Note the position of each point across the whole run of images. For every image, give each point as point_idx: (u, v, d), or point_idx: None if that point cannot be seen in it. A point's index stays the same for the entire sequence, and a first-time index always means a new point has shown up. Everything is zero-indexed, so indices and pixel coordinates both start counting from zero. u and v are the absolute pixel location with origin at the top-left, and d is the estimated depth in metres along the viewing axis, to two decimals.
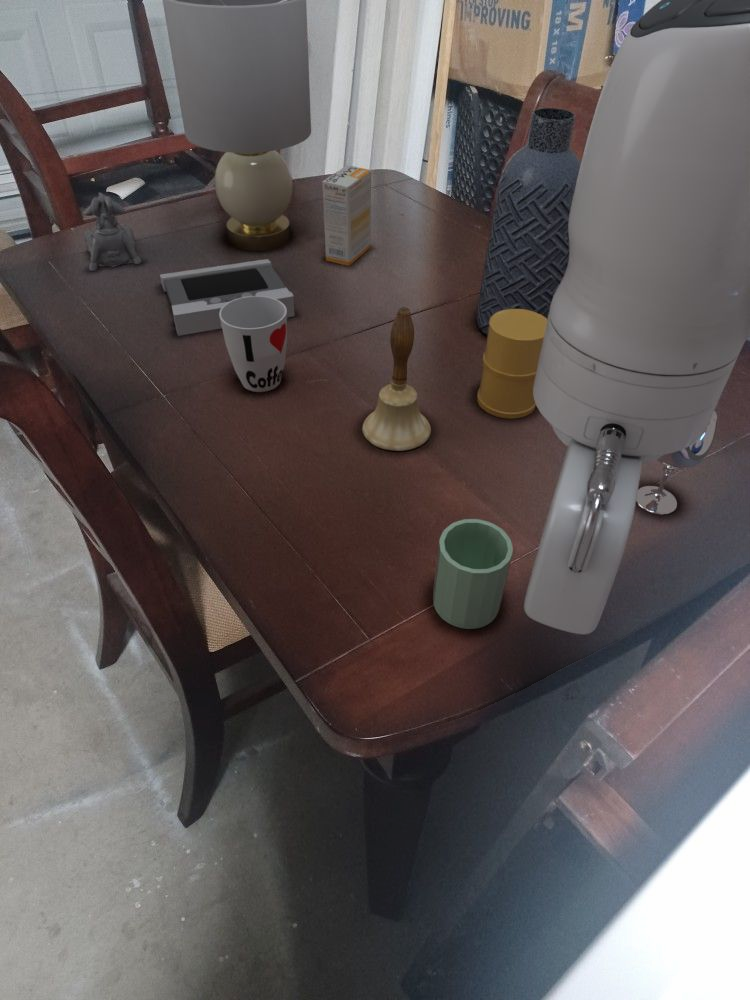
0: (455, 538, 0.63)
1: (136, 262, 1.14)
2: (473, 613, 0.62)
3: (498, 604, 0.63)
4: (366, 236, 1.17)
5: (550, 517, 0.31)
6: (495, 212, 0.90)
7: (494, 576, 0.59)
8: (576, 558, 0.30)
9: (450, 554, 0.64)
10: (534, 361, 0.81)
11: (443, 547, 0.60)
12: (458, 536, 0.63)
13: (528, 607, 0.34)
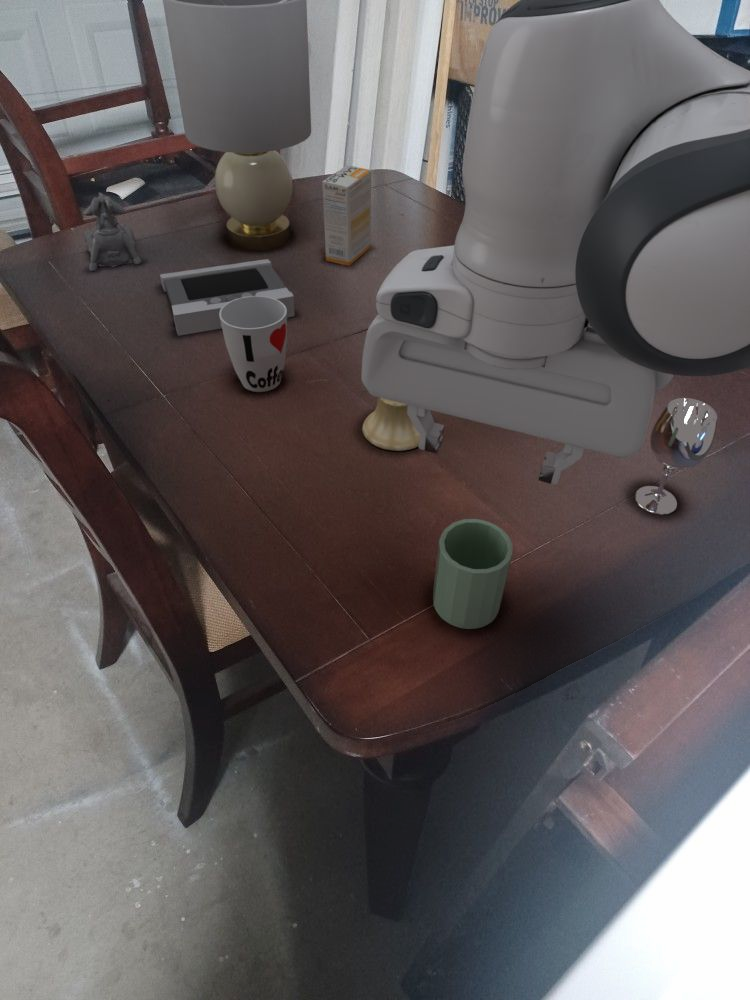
0: (455, 538, 0.63)
1: (136, 262, 1.14)
2: (473, 613, 0.62)
3: (498, 604, 0.63)
4: (366, 236, 1.17)
5: (646, 376, 0.42)
6: None
7: (494, 576, 0.59)
8: (672, 375, 0.43)
9: (450, 554, 0.64)
10: None
11: (443, 547, 0.60)
12: (458, 536, 0.63)
13: None
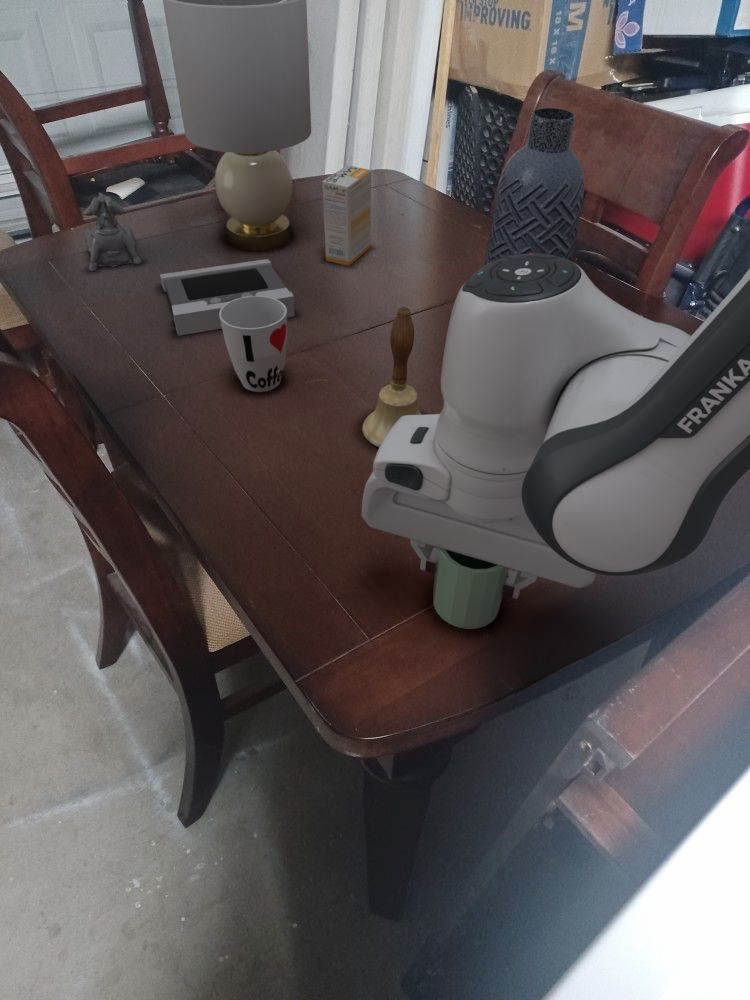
0: None
1: (136, 262, 1.14)
2: (473, 613, 0.62)
3: (498, 604, 0.63)
4: (366, 236, 1.17)
5: None
6: (495, 212, 0.90)
7: (494, 576, 0.59)
8: None
9: (450, 554, 0.64)
10: None
11: None
12: None
13: (593, 579, 0.56)
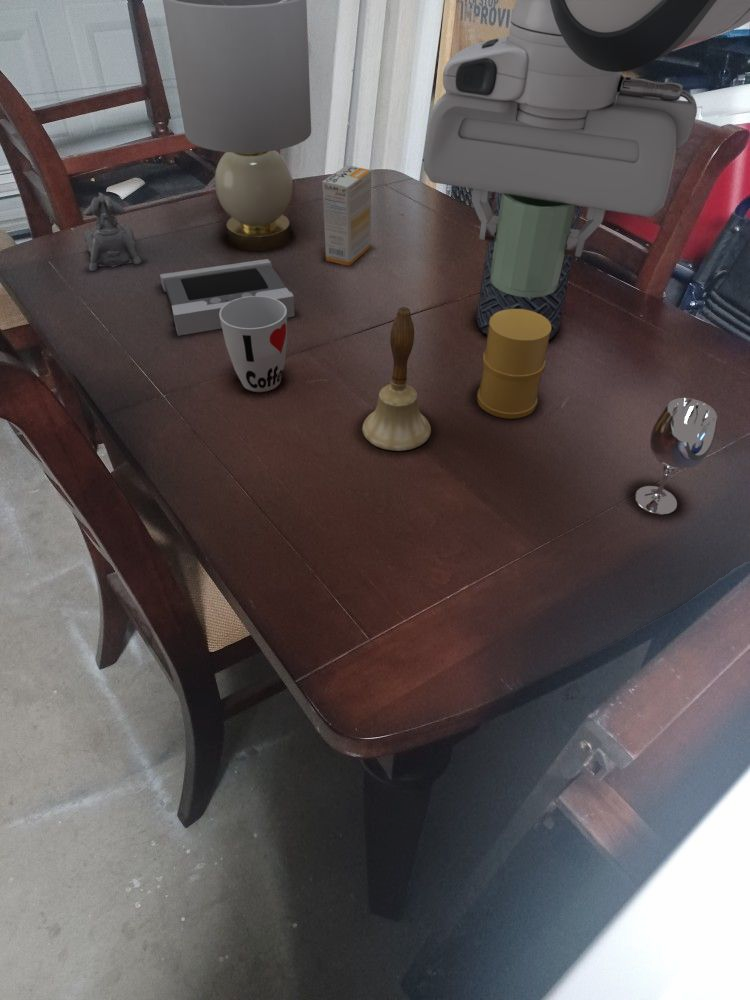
0: None
1: (136, 262, 1.14)
2: (535, 273, 0.61)
3: (559, 269, 0.62)
4: (366, 236, 1.17)
5: (669, 127, 0.51)
6: (495, 212, 0.90)
7: (560, 217, 0.58)
8: (690, 131, 0.52)
9: None
10: (534, 361, 0.81)
11: (507, 194, 0.59)
12: (518, 200, 0.62)
13: (665, 199, 0.55)
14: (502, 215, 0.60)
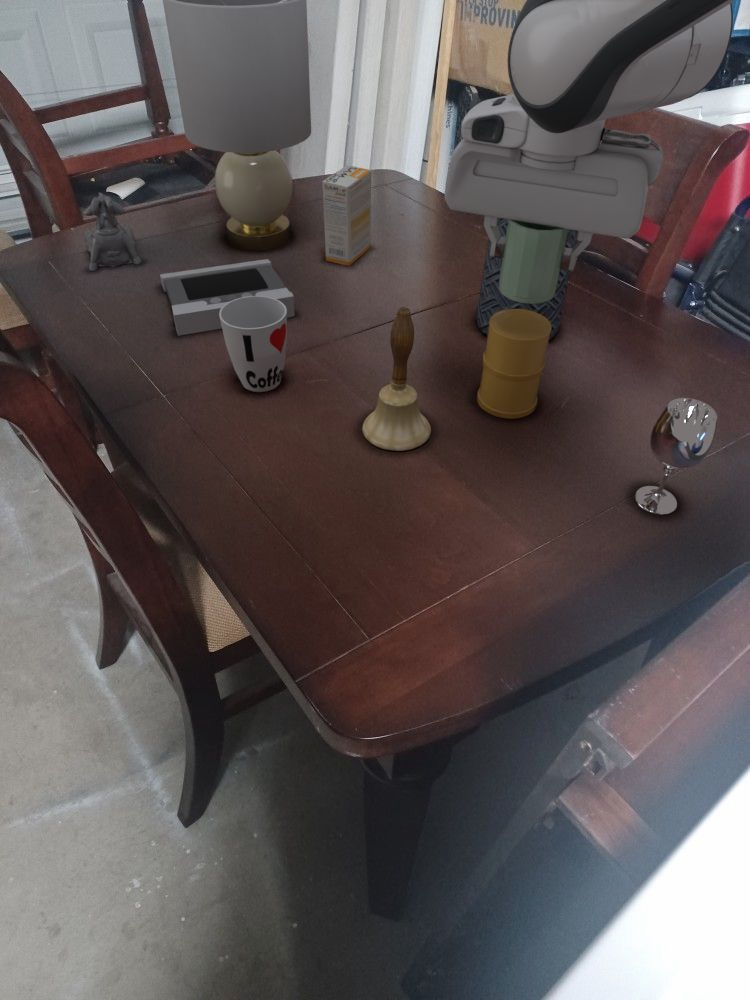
0: None
1: (136, 262, 1.14)
2: (535, 283, 0.74)
3: (556, 280, 0.75)
4: (366, 236, 1.17)
5: (641, 169, 0.65)
6: None
7: (556, 238, 0.71)
8: (659, 171, 0.66)
9: None
10: (534, 361, 0.81)
11: (513, 220, 0.72)
12: (522, 224, 0.76)
13: (639, 225, 0.68)
14: (509, 236, 0.73)
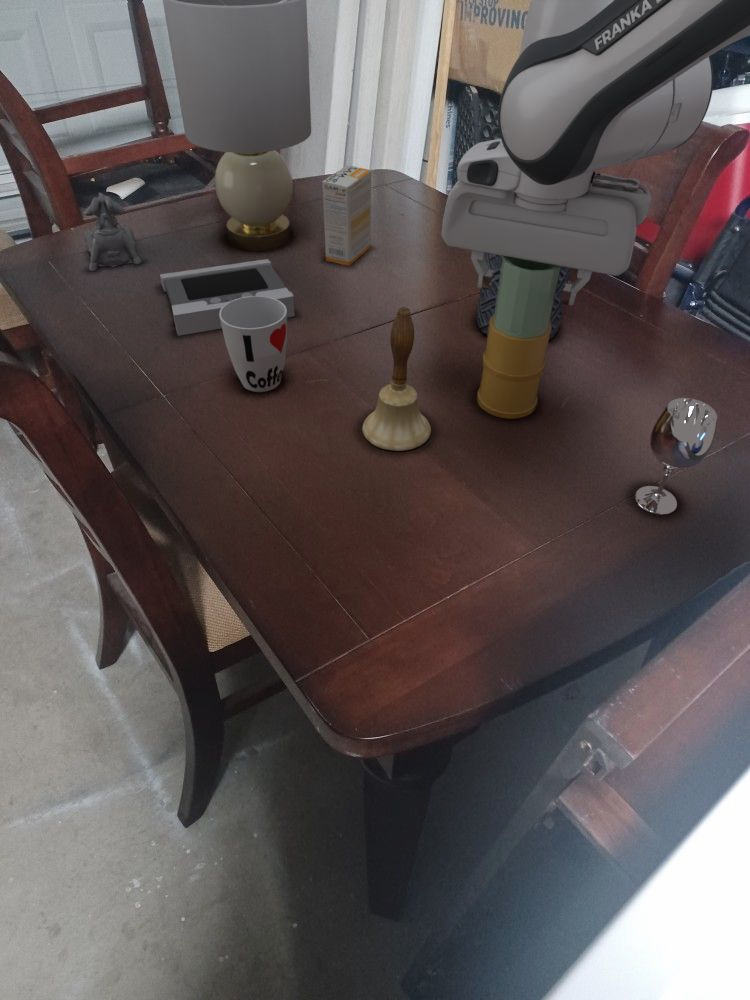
0: (514, 264, 0.79)
1: (136, 262, 1.14)
2: (529, 319, 0.77)
3: (548, 316, 0.78)
4: (366, 236, 1.17)
5: (630, 212, 0.68)
6: None
7: (548, 277, 0.74)
8: (646, 213, 0.68)
9: None
10: (534, 361, 0.81)
11: (507, 259, 0.75)
12: (516, 262, 0.78)
13: (629, 263, 0.71)
14: (503, 275, 0.76)
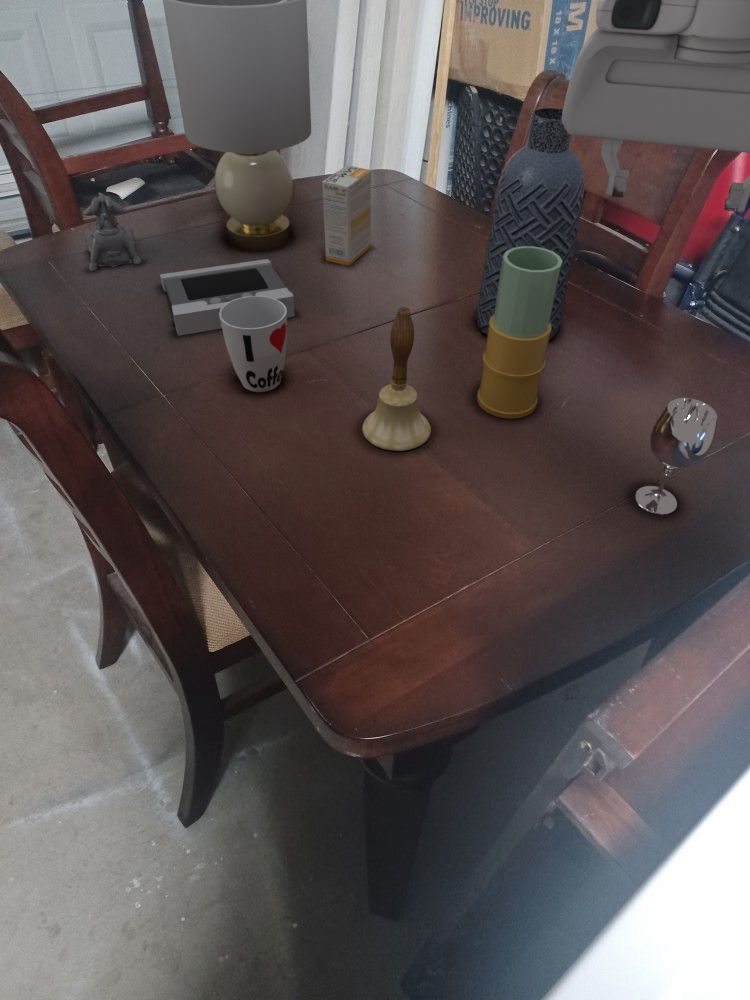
0: (514, 264, 0.79)
1: (136, 262, 1.14)
2: (529, 319, 0.77)
3: (548, 316, 0.78)
4: (366, 236, 1.17)
5: None
6: (495, 212, 0.90)
7: (548, 277, 0.74)
8: None
9: None
10: (534, 361, 0.81)
11: (507, 259, 0.75)
12: (516, 262, 0.78)
13: None
14: (503, 275, 0.76)
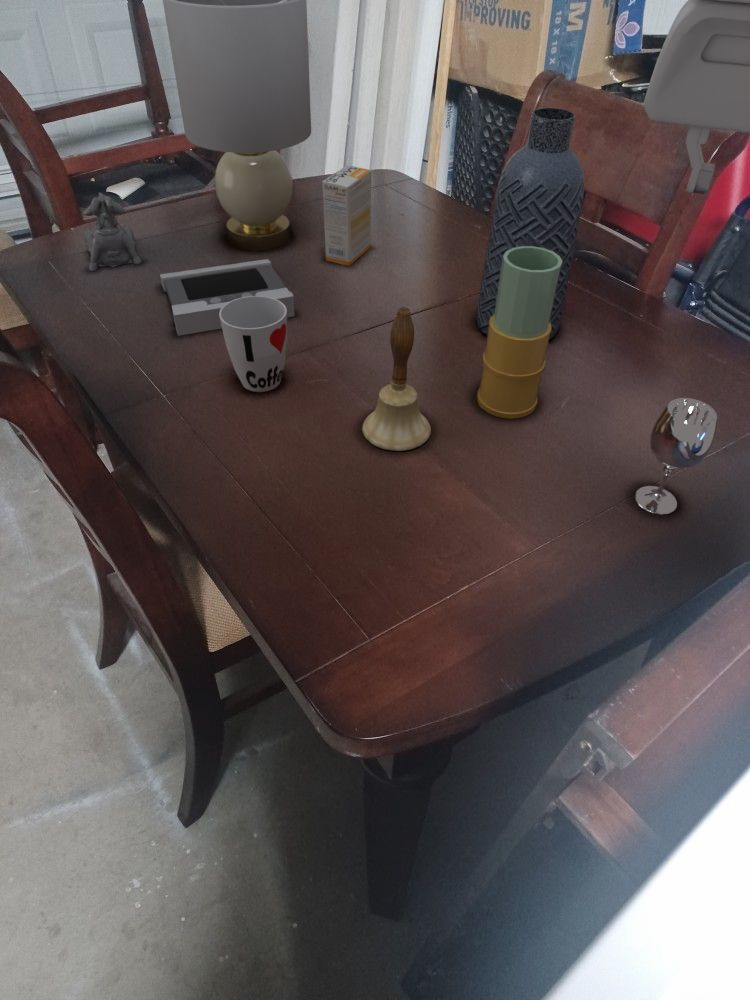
0: (514, 264, 0.79)
1: (136, 262, 1.14)
2: (529, 319, 0.77)
3: (548, 316, 0.78)
4: (366, 236, 1.17)
5: None
6: (495, 212, 0.90)
7: (548, 277, 0.74)
8: None
9: None
10: (534, 361, 0.81)
11: (507, 259, 0.75)
12: (516, 262, 0.78)
13: None
14: (503, 275, 0.76)
